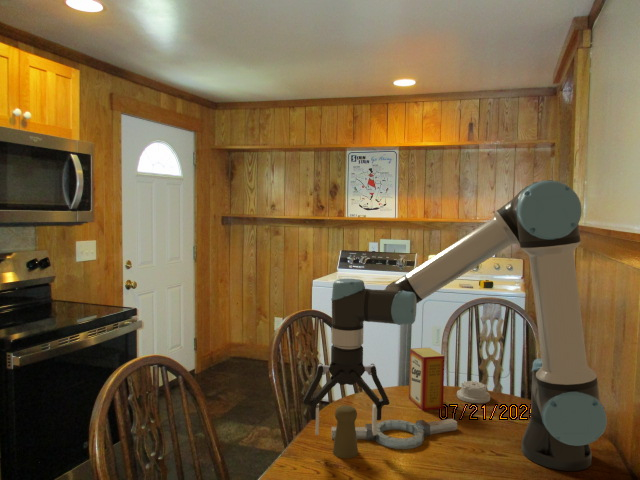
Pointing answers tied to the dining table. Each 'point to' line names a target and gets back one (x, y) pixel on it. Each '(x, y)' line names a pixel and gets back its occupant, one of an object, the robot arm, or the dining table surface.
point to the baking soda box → (426, 378)
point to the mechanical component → (473, 392)
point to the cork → (345, 432)
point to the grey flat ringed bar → (418, 430)
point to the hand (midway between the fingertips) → (345, 432)
